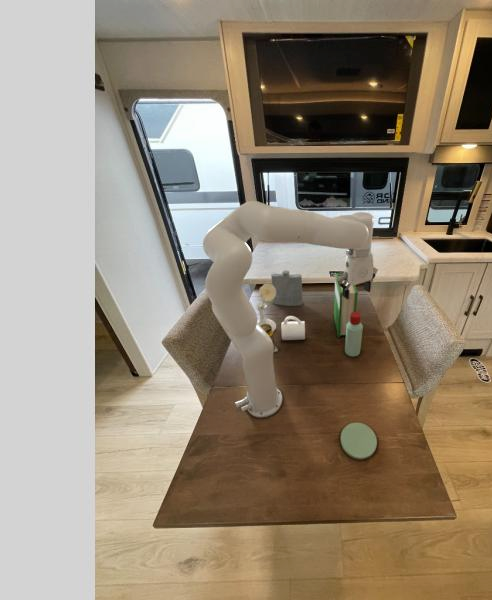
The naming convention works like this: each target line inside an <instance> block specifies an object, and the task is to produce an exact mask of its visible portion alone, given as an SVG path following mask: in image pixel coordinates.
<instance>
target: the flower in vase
mask: <svg viewBox="0 0 492 600" xmlns="http://www.w3.org/2000/svg"><path fill="white" fill-rule="evenodd" d="M258 296H259V298H260V299H262V301H263V302H261V301H256V303H258V304H256V305H255V309H256V310H258V313H259V319H257V323H258V324H259V325H260V326H261V325H263V324H269V325H270V326H271V327H272V331H273V333H274V332H275V330H276V329H277V324H276V322H275V321H274V320H272V319H270V318H266V308H267V307H268V305H267V304H266V303H265V302H267V303H272V302H274V300H275V299H274V297H275V296H276V288H274V286H273V285H272V283H269V282H268V283H263V284H262V286H260V287H259V291H258Z"/></svg>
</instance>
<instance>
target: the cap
mask: <svg viewBox="0 0 492 600" xmlns="http://www.w3.org/2000/svg"><path fill="white" fill-rule="evenodd" d="M360 322H361V313H360V312H359V311H356V312H352V313H351V316H350V323H351V324H353V325H358V324H360Z"/></svg>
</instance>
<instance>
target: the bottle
mask: <svg viewBox="0 0 492 600" xmlns="http://www.w3.org/2000/svg"><path fill="white" fill-rule="evenodd" d="M363 329H364V325H363V324H362V322H361V321H360V324H358V325H353V324H351V323H350V321H349V322H348V323H347V326H346V335H345V341H344V342H345V343H344V353H345V354H346V355H347V356H348V357H357V356H359V355H361V347H362V338H363Z"/></svg>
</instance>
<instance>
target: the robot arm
mask: <svg viewBox="0 0 492 600" xmlns="http://www.w3.org/2000/svg"><path fill="white" fill-rule="evenodd" d="M374 219H375V217H374V216H373V215H372V214H371V213H369V212H363V211H360V212H354V213H352V214H341V215H334V216H331V217H329V216H326V215H324V214H321V213H317V212H314V211H310V210H305V209H296V208H288V207H281V206H274V205H268V204H266V203H263V202H261V201H258V200H250V201H246V202H244V203H243V204H241V205H239V206H238V207H237V208H235V209H234V210H233V211H232V212H230V213H229V214H228V215H227V216H225V217H224V218H223V219H222V220H220V221H219V222H218V223H216V224H215V225H214V226H213V227H212V228H210V229H209V230H208V231H207V232H206V234H205V235H204V237H203V240H202V249H203V251H204V253H205V255H206V256H207V257H208V258H209V259H210V260H211V262H213V263H212V264H211V266H210V268H209V269H208V271H207V274H206V277H205V282H204V289H205V292H206V295H207V297H208V299H209V301H210V302H211V309H212V313H213V314H214V316H215V318H216V320H217V321H218V322H219V324H220V326H221V327H222V329H223V330H224V332H225V334H226V335H227V337H228V338H229V340H230V341H231V342H232V344H233V345H234V347H235V349H236V350H237V351H238V353H239V355H240V357H241V360H242V365H241V367H242V372H243V376H244V382H245V385H246V388H247V393H246V394H245V395H246V396H245V397H244V398H243V399H240V400H237V401H235V402H234V405H235V407H236V409H238V408H240V409H241V412H242V413H243V412H244V411H247V412H248V413H249V414H250V415H251V416H253V417H256V418H267V417H270V416H272V415H274V414H275V413H277V411H279V410H280V408H281V406H282V404H283V394H282V392H281V390H280V389H279V388H278V387H277V381H276V374H275V365H274V353H273V351H274V345H273V342H272V340H271V338H270V337H269V335H268V334H267V333H266V332H265V331H264V330H263V329H262V327H260V325H259V324H258V323H257V321H258V316H257V312H256V310H255V308H254V307H253V305H252V303H251V300H250V299H249V297H248V295H247V293H246V291H245V288H244V285H243V283H244V280H245V277H246V275H247V274H248V272H249V270H250V269H251V267H252V263H253V252H252V250H251V248H250V246H249V245H248V244H247V242H248V241H249V240H250V239H251V238H252V237H255V238H256V239H258V240H260V241H263V242H269V243H296V244H297V243H298V244H307V245H308V244H309V245H313V246H321V247H328V248H334V249H342V250H346V251H345V254H346V257H345V261H344V268H343V273H342V274H343V275H341V276H340V277H339V278H338V279H337V282H338V284H339V286H341V287H342V288H343V291H342V295H343V297H345V298H346V299H349V287H350V286H351V285H355V286H356V285H360V284H363V290H365V291H366V292H367V293H370V292H371V288H372V283H373V282H374V279H375V278H376V276H377V275H376V274H377V273H378V271H379V268H376V267H374V256H373V253H372V244H373V233H374V222H375V220H374ZM343 280H345V281H344V282H343V283H342V281H343ZM347 283H348V284H347ZM346 284H347V285H346ZM345 285H346V286H345Z"/></svg>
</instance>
